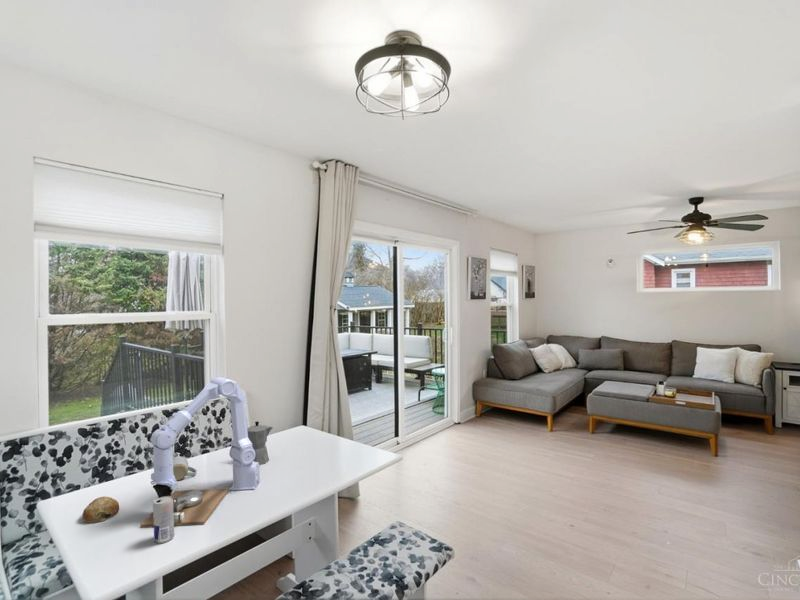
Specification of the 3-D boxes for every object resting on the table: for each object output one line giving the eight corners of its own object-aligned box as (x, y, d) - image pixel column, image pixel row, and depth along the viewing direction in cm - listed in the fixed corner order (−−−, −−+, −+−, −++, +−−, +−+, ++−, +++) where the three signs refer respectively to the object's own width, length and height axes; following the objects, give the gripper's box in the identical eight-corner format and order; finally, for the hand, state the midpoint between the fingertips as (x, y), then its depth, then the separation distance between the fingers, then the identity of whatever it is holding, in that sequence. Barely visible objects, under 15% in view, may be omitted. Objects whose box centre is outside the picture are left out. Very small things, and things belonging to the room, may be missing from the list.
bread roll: (88, 536, 137) (92, 517, 135) (75, 515, 141) (79, 496, 140) (121, 521, 145) (125, 503, 143) (108, 502, 150) (112, 485, 148)
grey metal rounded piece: (187, 495, 152) (186, 482, 152) (207, 497, 151) (207, 483, 151) (159, 516, 138) (158, 502, 138) (181, 518, 137) (180, 503, 137)
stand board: (229, 490, 158) (228, 481, 158) (203, 524, 135) (203, 514, 135) (175, 493, 157) (174, 484, 157) (140, 527, 134) (140, 517, 134)
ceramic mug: (167, 484, 165) (167, 464, 165) (167, 476, 173) (167, 457, 172) (197, 478, 171) (197, 459, 170) (196, 470, 178) (195, 452, 178)
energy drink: (159, 534, 130) (158, 496, 130) (177, 533, 131) (176, 495, 131) (150, 544, 125) (149, 504, 125) (169, 543, 125) (168, 503, 125)
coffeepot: (274, 456, 192) (273, 417, 191) (272, 464, 182) (271, 423, 182) (238, 459, 188) (237, 420, 188) (235, 468, 179) (234, 426, 179)
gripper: (140, 464, 143) (142, 503, 143) (161, 474, 134) (163, 515, 135) (162, 457, 148) (163, 495, 149) (183, 466, 140) (184, 506, 140)
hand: (164, 504), depth 142 cm, fingers closed
